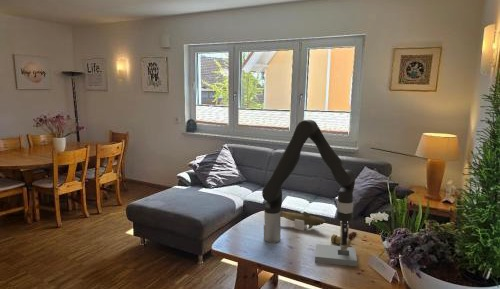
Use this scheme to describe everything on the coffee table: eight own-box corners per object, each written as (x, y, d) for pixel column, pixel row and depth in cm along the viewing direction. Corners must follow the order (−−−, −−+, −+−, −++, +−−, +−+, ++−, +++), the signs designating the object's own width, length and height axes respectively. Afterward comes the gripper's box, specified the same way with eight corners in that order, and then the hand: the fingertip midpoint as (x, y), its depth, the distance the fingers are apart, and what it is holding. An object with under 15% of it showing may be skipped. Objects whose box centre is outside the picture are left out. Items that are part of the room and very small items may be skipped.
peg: (339, 250, 162) (340, 228, 160) (339, 246, 166) (340, 224, 165) (348, 251, 161) (349, 228, 159) (348, 247, 165) (348, 225, 164)
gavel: (348, 226, 196) (364, 231, 189) (348, 233, 197) (363, 238, 190) (330, 235, 181) (347, 240, 174) (330, 243, 182) (346, 248, 175)
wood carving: (275, 219, 216) (275, 203, 214) (326, 229, 199) (327, 212, 197) (269, 224, 208) (269, 208, 206) (322, 235, 191) (323, 217, 190)
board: (315, 262, 161) (315, 256, 161) (315, 249, 175) (316, 243, 174) (356, 266, 156) (357, 260, 156) (354, 252, 170) (354, 247, 169)
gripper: (336, 204, 168) (336, 235, 171) (337, 214, 155) (336, 248, 157) (351, 205, 167) (350, 236, 169) (354, 215, 153) (352, 249, 156)
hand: (344, 242), depth 163 cm, fingers closed on peg, 4 cm apart
